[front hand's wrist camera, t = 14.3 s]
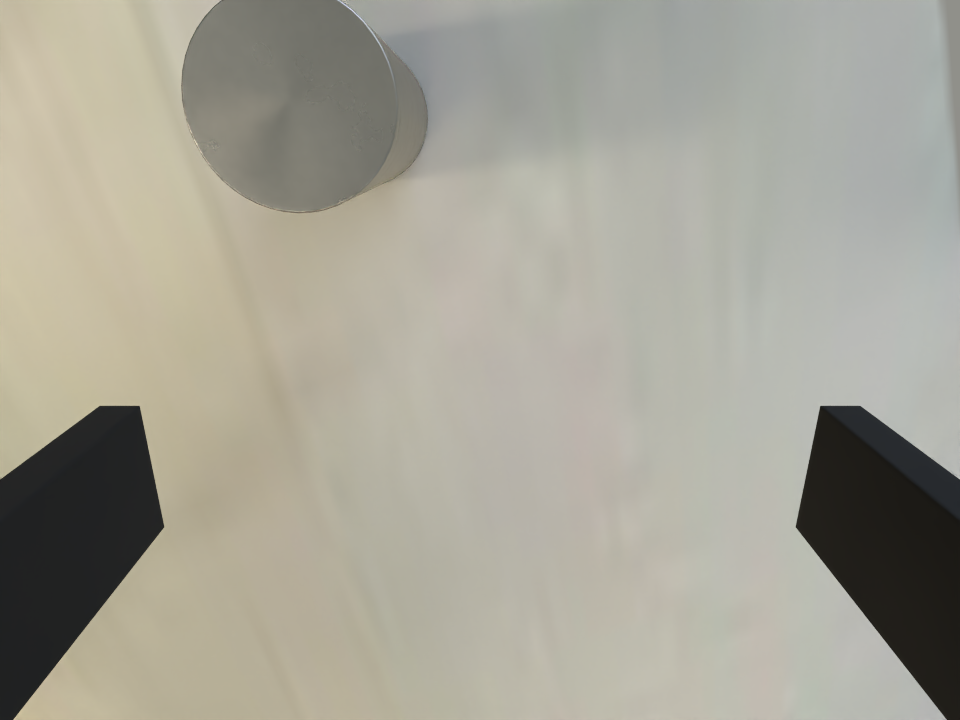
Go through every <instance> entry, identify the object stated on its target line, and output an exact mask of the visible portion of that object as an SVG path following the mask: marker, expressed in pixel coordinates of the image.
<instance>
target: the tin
mask: <svg viewBox="0 0 960 720" xmlns="http://www.w3.org/2000/svg"><path fill="white" fill-rule="evenodd" d="M181 86H182V101H183V107H184V112H185V117H186V120H187V123H188V127H189V130H190V132H191V135H192V137H193V139H194V142H195V144H196V146H197V147H198V149H199V151H200V153H201V154H202V156H203V158H204V159H205V160H206V162H207V163H208V164H209V166H210V167H211V168H212V170H213V171H214V172H215V173H216V174H217V175H218V176H219V177H220V178H221V179H222V180H223V181H224V182H225V183H226V184H227V185H229V186H230V187H231V188H232V189H233V190H235V191H236V192H238V193H239V194H241V195H242V196H244V197H245V198H247V199H249V200H251V201H253V202H255V203H257V204H259V205H262V206H265V207H268V208H270V209H274V210H279V211H283V212H292V213H310V212H317V211H322V210H326V209H329V208H332V207H335V206H338V205H340V204H342V203H344V202H346V201H348V200H350V199H352V198H354V197H356V196H358V195H360V194H362V193H364V192H366V191H368V190H371V189H373V188H375V187H377V186H379V185H381V184H383V183H385V182H387V181H389V180H391V179H393V178H395V177H397V176H398V175H400V174H401V173H403V172H404V171H405V170H406V169H407V168H408V167H409V166H410V165H411V164H412V162H413V161H414V160H415V158H416V157H417V155H418V154H419V152H420V150H421V148H422V145H423V142H424V139H425V136H426V131H427V120H428V118H427V107H426V101H425V98H424V94H423V91H422V89H421V87H420V85H419V82H418V81H417V79H416V77H415V76H414V74H413V73H412V72H411V70H410V69H409V68H408V67H407V65H406V64H405V63H404V62H403V61H402V60H401V59H400V58H399V57H398V56H397V55H396V54H395V53H394V52H393V51H392V50H391V49H390V48H389V47H388V45H387V44H386V43H385V42H384V41H383V40H382V39H381V38H380V37H379V36H378V35H377V34H376V33H375V32H374V31H373V30H372V29H371V28H370V26H369V25H368V24H367V23H366V22H365V21H364V20H363V19H362V18H361V17H360V16H359V15H358V14H357V13H356V12H355V11H354V10H353V9H351V8H350V7H349V6H347V5H346V4H345V3H343V2H342V1H341V0H222V1H220V2H219V3H218V4H216V5H215V6H214V7H213V8H212V9H211V10H210V11H209V12H208V14H207V15H206V16H205V17H204V18H203V20H202V21H201V23H200V24H199V26H198V27H197V29H196V31H195V33H194V35H193V37H192V39H191V41H190V43H189V46H188V49H187V52H186V55H185V60H184V65H183V70H182V85H181Z"/></svg>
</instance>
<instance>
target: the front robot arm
mask: <svg viewBox="0 0 960 720" xmlns="http://www.w3.org/2000/svg"><path fill="white" fill-rule="evenodd" d="M163 528H164V523H163V518H162V514H161V509H160V504H159V499H158V494H157V489H156V484H155V479H154V474H153V469H152V464H151V460H150V455H149V450H148V445H147V440H146V435H145V430H144V425H143V420H142V415H141V411H140V406H99V407H98V408H96V409H95V410H94V411H92V412H91V413H90V414H88V415H87V416H86V417H84V418H83V419H82V420H80V421H79V422H78V423H76V424H75V425H73V426H72V427H71V428H69V429H68V430H67V431H65V432H64V433H63V434H61V435H60V436H59V437H57V438H56V439H55V440H53V441H52V442H50V443H49V444H48V445H46V446H45V447H44V448H42V449H41V450H40V451H38V452H37V453H36V454H34V455H33V456H32V457H30V458H29V459H28V460H26V461H25V462H23V463H22V464H21V465H19V466H18V467H17V468H15V469H14V470H13V471H11V472H10V473H9V474H7V475H6V476H5V477H3V478H2V479H0V720H13V719H14V718H15V717H16V715H17V714H18V713H19V712H20V710H21V709H22V708H23V706H24V705H25V704H26V703H27V701H28V700H29V699H30V697H31V696H32V695H33V694H34V692H35V691H36V690H37V689H38V687H39V686H40V685H41V683H42V682H43V681H44V680H45V678H46V677H47V676H48V675H49V673H50V672H51V671H52V669H53V668H54V667H55V666H56V664H57V663H58V662H59V661H60V659H61V658H62V657H63V655H64V654H65V653H66V652H67V650H68V649H69V648H70V647H71V645H72V644H73V643H74V641H75V640H76V639H77V638H78V636H79V635H80V634H81V632H82V631H83V630H84V629H85V627H86V626H87V625H88V624H89V622H90V621H91V620H92V618H93V617H94V616H95V615H96V613H97V612H98V611H99V610H100V608H101V607H102V606H103V604H104V603H105V602H106V601H107V599H108V598H109V597H110V596H111V594H112V593H113V592H114V590H115V589H116V588H117V587H118V585H119V584H120V583H121V582H122V580H123V579H124V578H125V576H126V575H127V574H128V573H129V571H130V570H131V569H132V568H133V566H134V565H135V564H136V562H137V561H138V560H139V559H140V557H141V556H142V555H143V553H144V552H145V551H146V550H147V548H148V547H149V546H150V545H151V543H152V542H153V541H154V539H155V538H156V537H157V536H158V534H159V533H160V532H161V531H162V529H163ZM796 528H797V529H798V531H799V532H800V533H801V534H802V536H803V537H804V538H805V539H806V541H807V542H808V543H809V545H810V546H811V547H812V548H813V550H814V551H815V552H816V553H817V555H818V556H819V557H820V559H821V560H822V561H823V562H824V564H825V565H826V566H827V568H828V569H829V570H830V571H831V573H832V574H833V575H834V576H835V578H836V579H837V580H838V582H839V583H840V584H841V585H842V587H843V588H844V589H845V590H846V592H847V593H848V594H849V596H850V597H851V598H852V599H853V601H854V602H855V603H856V604H857V606H858V607H859V608H860V610H861V611H862V612H863V613H864V615H865V616H866V617H867V618H868V620H869V621H870V622H871V624H872V625H873V626H874V627H875V629H876V630H877V631H878V632H879V634H880V635H881V636H882V638H883V639H884V640H885V641H886V643H887V644H888V645H889V647H890V648H891V649H892V650H893V652H894V653H895V654H896V655H897V657H898V658H899V659H900V661H901V662H902V663H903V664H904V666H905V667H906V668H907V669H908V671H909V672H910V673H911V675H912V676H913V677H914V678H915V680H916V681H917V682H918V683H919V685H920V686H921V687H922V689H923V690H924V691H925V692H926V694H927V695H928V696H929V697H930V699H931V700H932V701H933V703H934V704H935V705H936V706H937V708H938V709H939V710H940V712H941V713H942V714H943V715H944V717H945V718H946V719H947V720H960V479H958V478H957V477H955V476H954V475H953V474H951V473H950V472H949V471H947V470H946V469H945V468H943V467H942V466H941V465H939V464H938V463H937V462H935V461H934V460H932V459H931V458H930V457H928V456H927V455H926V454H924V453H923V452H922V451H920V450H919V449H918V448H916V447H915V446H914V445H912V444H911V443H910V442H908V441H907V440H905V439H904V438H903V437H901V436H900V435H899V434H897V433H896V432H895V431H893V430H892V429H891V428H889V427H888V426H887V425H885V424H884V423H882V422H881V421H880V420H878V419H877V418H876V417H874V416H873V415H872V414H870V413H869V412H868V411H866V410H865V409H864V408H862V407H861V406H820V411H819V415H818V420H817V425H816V430H815V435H814V440H813V445H812V450H811V455H810V460H809V464H808V469H807V474H806V479H805V484H804V489H803V494H802V499H801V504H800V509H799V514H798V518H797V523H796Z"/></svg>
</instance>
